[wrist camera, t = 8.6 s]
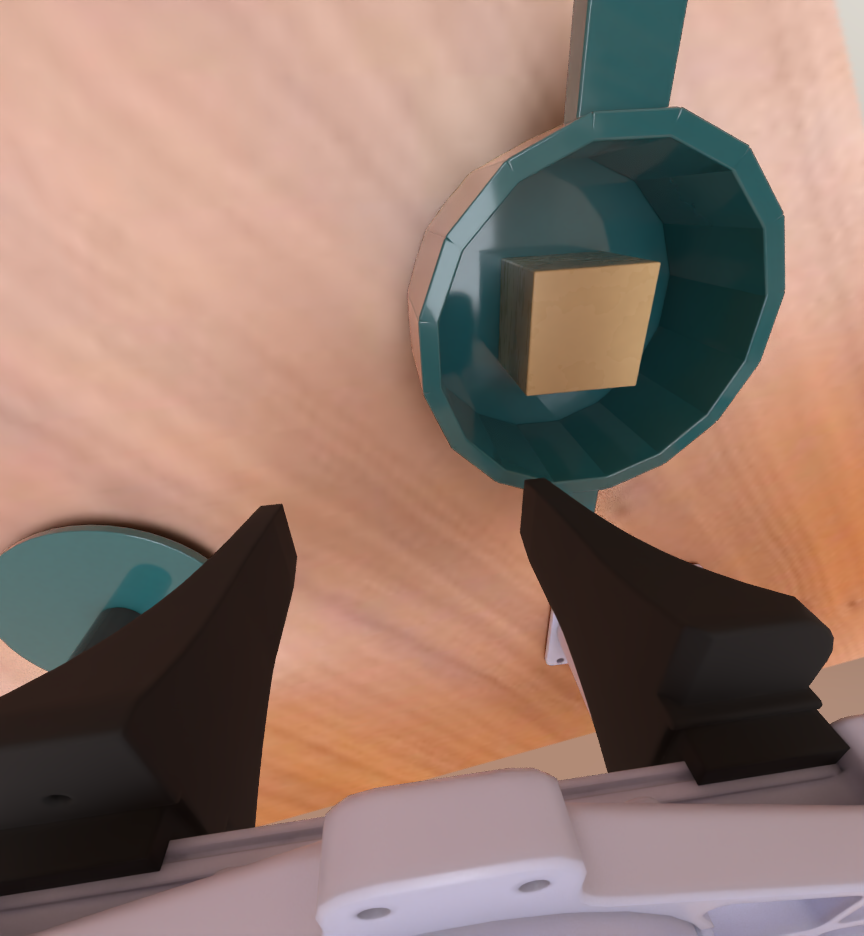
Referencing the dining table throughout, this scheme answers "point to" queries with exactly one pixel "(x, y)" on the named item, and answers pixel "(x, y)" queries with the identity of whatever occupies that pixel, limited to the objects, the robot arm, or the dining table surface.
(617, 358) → the block
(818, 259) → the dining table surface
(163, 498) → the dining table surface
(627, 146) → the pot
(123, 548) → the lid
